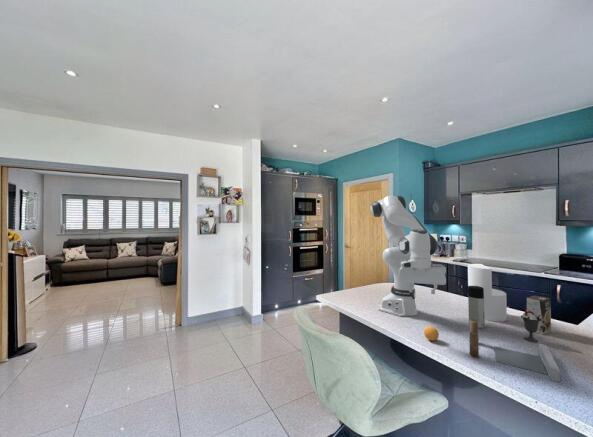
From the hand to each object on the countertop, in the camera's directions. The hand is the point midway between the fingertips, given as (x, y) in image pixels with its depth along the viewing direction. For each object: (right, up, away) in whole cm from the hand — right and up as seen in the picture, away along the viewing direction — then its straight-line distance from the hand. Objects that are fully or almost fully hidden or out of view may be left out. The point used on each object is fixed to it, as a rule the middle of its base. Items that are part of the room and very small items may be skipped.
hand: (421, 292), depth 117 cm
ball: (+2, -18, -4) cm, 18 cm away
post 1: (+20, -20, -6) cm, 29 cm away
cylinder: (+50, -20, +24) cm, 59 cm away
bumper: (+35, -20, -25) cm, 47 cm away
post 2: (+12, -20, -17) cm, 29 cm away
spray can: (+34, -20, +11) cm, 41 cm away
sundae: (+47, -20, -5) cm, 52 cm away
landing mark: (+28, -20, -20) cm, 40 cm away
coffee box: (+60, -20, +4) cm, 63 cm away
